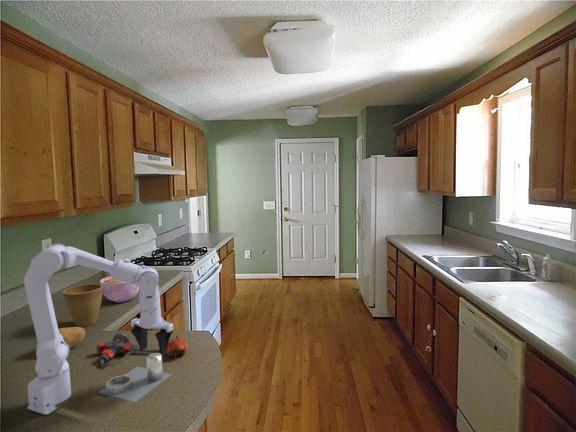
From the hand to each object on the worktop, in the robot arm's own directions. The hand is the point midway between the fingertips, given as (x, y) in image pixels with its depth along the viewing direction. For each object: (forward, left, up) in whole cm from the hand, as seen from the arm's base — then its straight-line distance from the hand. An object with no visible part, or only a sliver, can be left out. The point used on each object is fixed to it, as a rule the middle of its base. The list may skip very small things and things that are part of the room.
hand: (153, 350), depth 108 cm
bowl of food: (+55, +71, -10) cm, 91 cm away
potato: (+5, +47, -10) cm, 49 cm away
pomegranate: (+14, +3, -10) cm, 18 cm away
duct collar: (-8, +6, -10) cm, 14 cm away
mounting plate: (-4, +3, -10) cm, 11 cm away
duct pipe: (0, 0, -9) cm, 9 cm away
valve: (+8, +19, -10) cm, 23 cm away
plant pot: (+25, +61, -10) cm, 67 cm away
